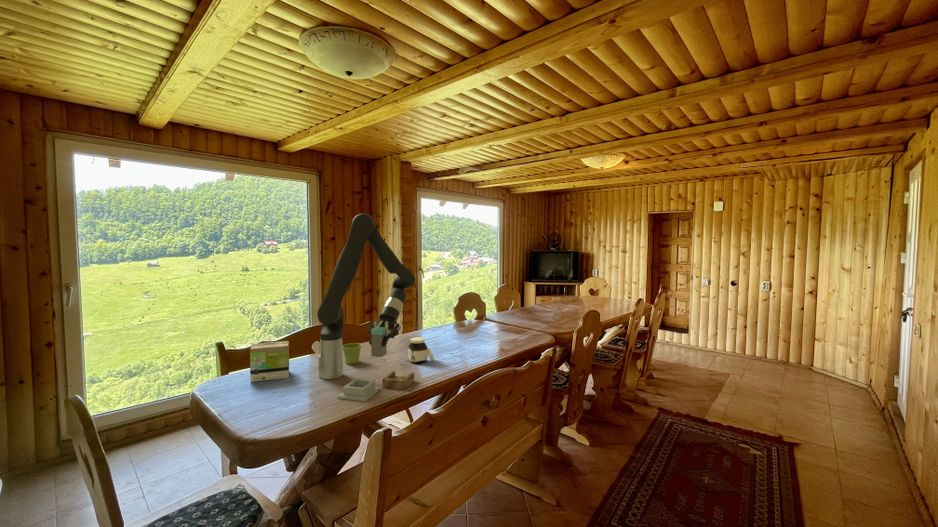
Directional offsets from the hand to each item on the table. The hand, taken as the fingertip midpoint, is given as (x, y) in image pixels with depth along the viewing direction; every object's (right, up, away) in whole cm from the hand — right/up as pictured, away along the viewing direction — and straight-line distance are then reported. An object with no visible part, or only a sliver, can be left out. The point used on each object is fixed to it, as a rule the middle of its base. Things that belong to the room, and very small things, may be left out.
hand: (376, 344), depth 152 cm
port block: (-6, -19, -3) cm, 20 cm away
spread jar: (+14, -17, +38) cm, 44 cm away
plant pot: (-21, -17, +36) cm, 45 cm away
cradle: (+8, -18, +8) cm, 21 cm away
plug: (0, -5, +2) cm, 5 cm away
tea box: (-51, -18, +16) cm, 57 cm away
